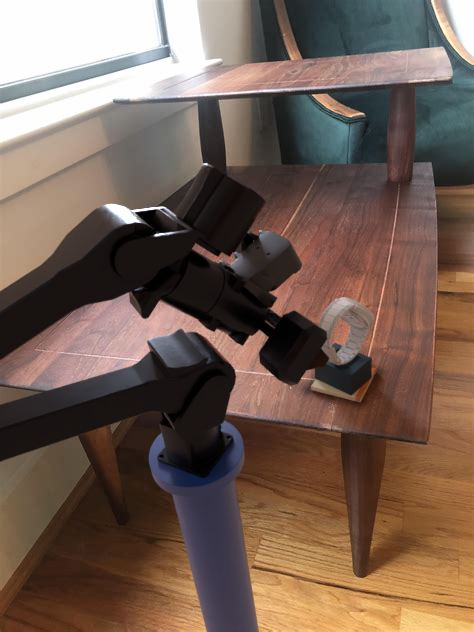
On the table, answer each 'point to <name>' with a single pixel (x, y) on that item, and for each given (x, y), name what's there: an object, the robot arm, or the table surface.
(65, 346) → the table surface
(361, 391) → the mat
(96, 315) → the table surface
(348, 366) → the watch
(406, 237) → the table surface
